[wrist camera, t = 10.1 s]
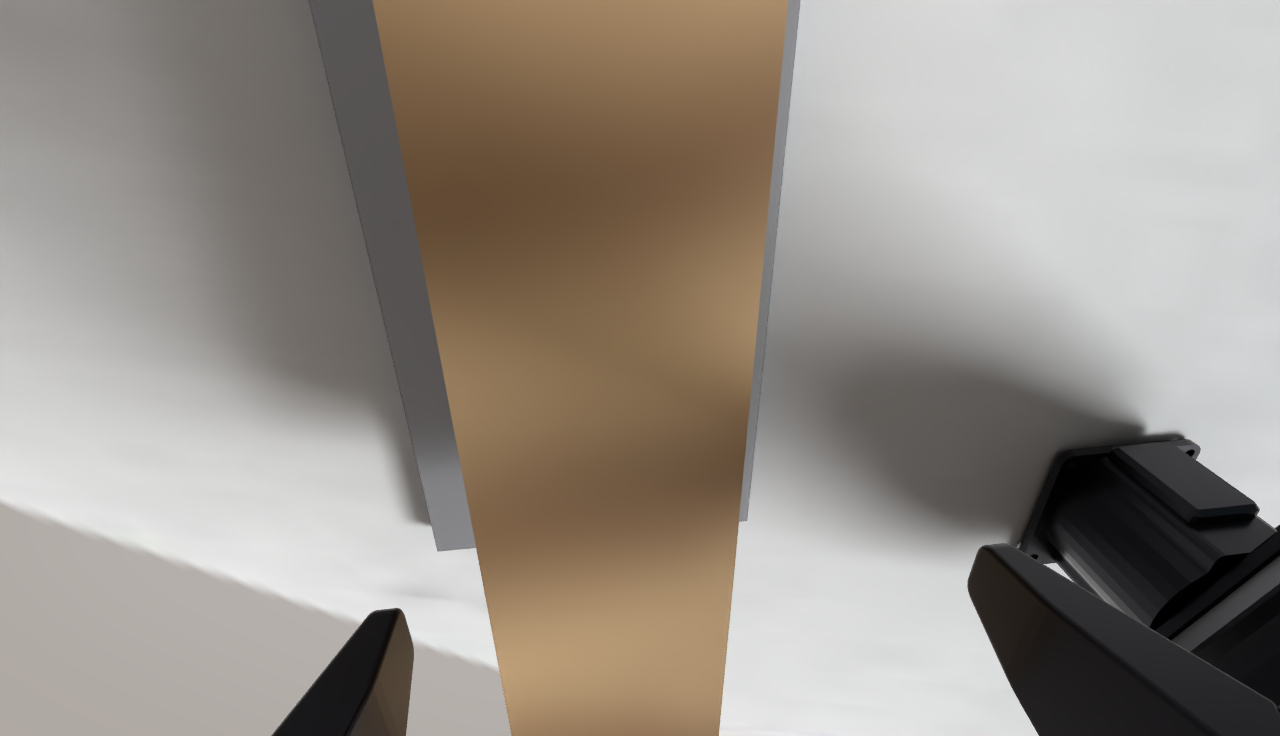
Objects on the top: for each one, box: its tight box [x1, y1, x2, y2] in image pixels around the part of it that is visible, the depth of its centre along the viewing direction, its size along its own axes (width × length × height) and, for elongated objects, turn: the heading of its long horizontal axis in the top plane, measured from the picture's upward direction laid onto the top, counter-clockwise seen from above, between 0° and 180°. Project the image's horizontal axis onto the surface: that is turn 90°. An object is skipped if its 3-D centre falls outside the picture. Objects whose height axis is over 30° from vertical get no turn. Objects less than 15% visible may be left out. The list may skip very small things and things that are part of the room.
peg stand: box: [309, 0, 800, 551], centre depth 18 cm, size 20×12×6 cm, turn 1°
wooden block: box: [373, 0, 788, 736], centre depth 13 cm, size 16×5×5 cm, turn 1°
